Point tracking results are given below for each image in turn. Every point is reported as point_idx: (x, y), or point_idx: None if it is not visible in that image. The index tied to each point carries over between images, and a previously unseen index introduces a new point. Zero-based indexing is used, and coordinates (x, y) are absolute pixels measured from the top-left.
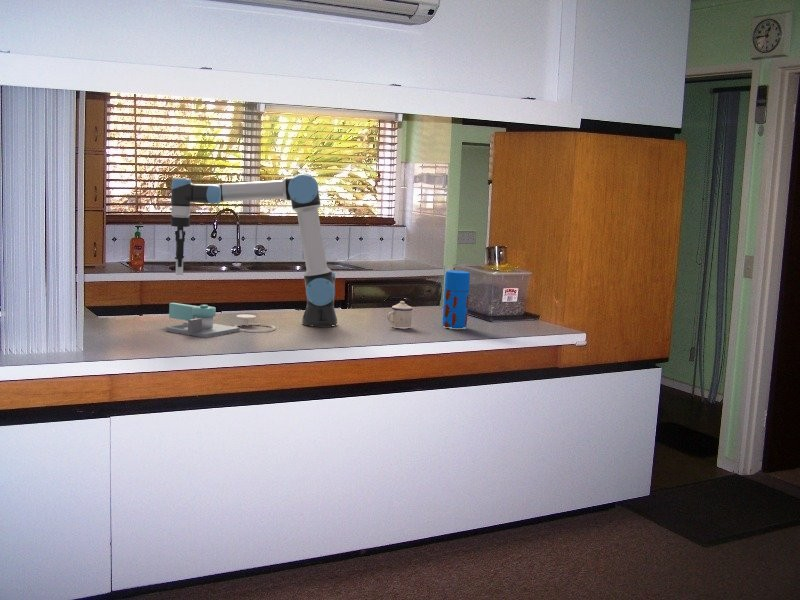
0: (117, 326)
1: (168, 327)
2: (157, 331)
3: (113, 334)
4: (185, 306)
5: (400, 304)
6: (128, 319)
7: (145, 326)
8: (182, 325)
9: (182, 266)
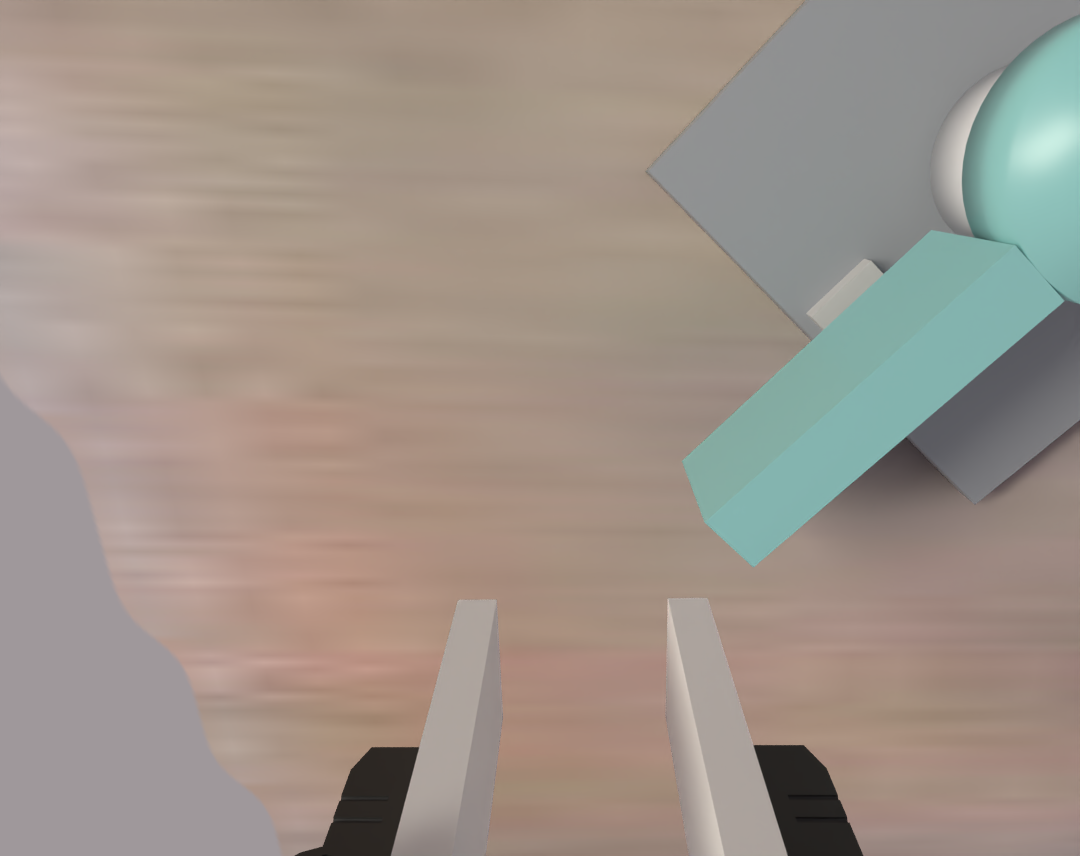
0: None
1: (982, 489)
2: (960, 558)
3: (1051, 836)
4: (952, 390)
5: None
6: None
7: None
8: None
9: (744, 730)
